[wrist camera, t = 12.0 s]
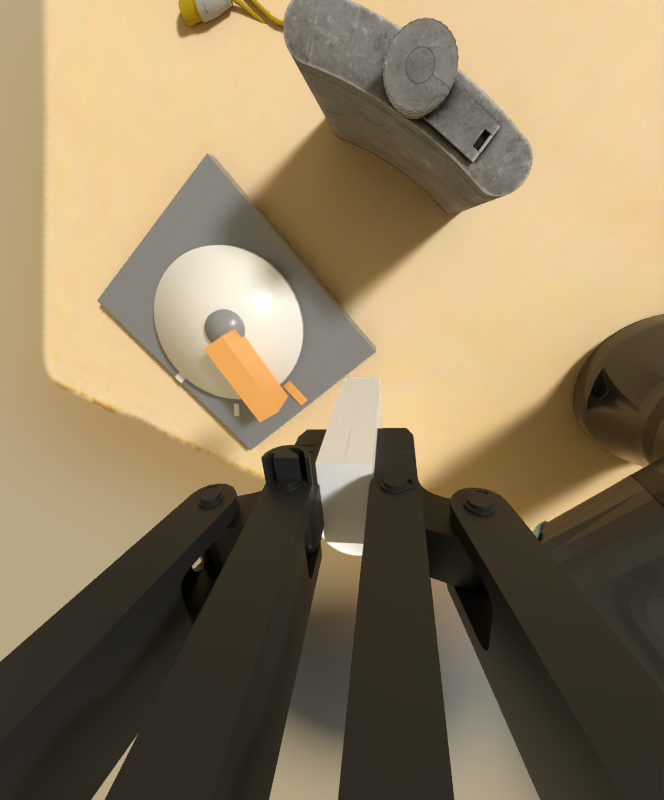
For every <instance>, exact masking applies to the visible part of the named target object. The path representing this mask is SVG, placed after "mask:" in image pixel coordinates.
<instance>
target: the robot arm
mask: <svg viewBox="0 0 664 800" xmlns="http://www.w3.org/2000/svg"><path fill="white" fill-rule="evenodd" d="M573 404H574V411H575V415H576V418H577V420H578V422H579V424H580V426H581V427H582V429H583V430H584V431H585V432H586V433H587V434H588V435H589V436H590V437H591V438H592V439H593V440H594V441H595V442H596V443H597V444H598V445H599V446H600V447H601V448H603V449H604V450H606V451H607V452H609V453H611V454H612V455H614V456H616V457H619V458H621V459H624V460H626V461H629V462H631V463H634V464H637V465H639V466H642V467H644V468H642V469H641V470H639V471H637V472H635V473H634V474H631V475H629V476H628V477H626V478H624V479H623V480H621V481H619V482H618V483H616V484H614V485H613V486H611V487H609V488H607V489H605V490H604V491H602V492H600V493H598V494H597V495H595V496H593V497H591V498H590V499H588V500H586V501H584V502H582V503H581V504H579V505H577V506H575V507H574V508H572V509H570V510H568V511H567V512H565V513H563V514H561V515H560V516H558V517H556V518H554V519H552V520H551V521H549V522H546V521H544V522H541V523H540V524H538V525H537V526H536V529H535V530H534V531H531V530H530V529H529V528H528V526H527V525H526V524H525V523H524V521H523V520H522V519H521V518H520V517H519V515H518V514H517V513H516V512H515V510H514V509H513V508H512V507H511V506H510V504H509V503H508V502H507V501H506V500H505V499H504V498H502V497H501V496H500V495H498V494H496V493H494V492H492V491H490V490H486V489H481V488H466V489H462V490H459V491H457V492H456V493H455V494H453V495H452V498H451V499H449V498H445V497H441V496H438V495H434V494H432V493H430V492H428V491H427V490H426V489H424V488H423V487H422V486H421V484H420V483H419V481H418V477H417V467H416V458H415V448H414V438H413V435H412V434H411V433H410V431H409V430H408V429H407V428H382V420H381V392H380V377H348V378H344V381H343V384H342V387H341V389H340V392H339V395H338V398H337V401H336V404H335V407H334V410H333V413H332V416H331V419H330V422H329V425H328V428H327V430H306V431H305V432H304V433H303V434H301V435H300V436H299V437H298V439H297V441H296V443H295V445H286V446H280V447H277V448H273V449H271V450H270V451H268V452H266V453H265V454H264V455H263V456H262V457H261V458H262V464H263V469H264V474H265V480H266V484H265V486H264V488H263V490H262V491H260V492H256V493H252V494H246V495H241V496H237V494H236V491H235V489H234V488H233V487H232V486H230V485H227V484H214V485H208V486H206V487H203V488H201V489H199V490H197V492H194V493H193V494H192V495H190V496H189V497H188V498H187V499H186V500H185V501H184V502H183V503H181V504H180V505H179V506H178V507H177V508H176V509H174V510H173V511H172V512H171V513H170V514H169V515H168V516H166V517H165V518H164V519H163V520H162V521H161V522H160V523H158V524H157V525H156V526H155V527H154V528H153V529H152V530H150V531H149V532H148V533H147V534H146V535H145V536H144V537H142V538H141V539H140V540H139V541H138V542H137V543H136V544H134V545H133V546H132V547H131V548H130V549H129V550H128V551H126V552H125V553H124V554H123V555H122V556H121V557H120V558H118V559H117V560H116V561H115V562H114V563H113V564H112V565H111V566H109V567H108V568H107V569H106V570H105V571H104V572H102V573H101V574H100V575H99V576H98V577H97V578H96V579H94V580H93V581H92V582H91V583H90V584H89V585H88V586H86V587H85V588H84V589H83V590H82V591H81V592H80V593H78V594H77V595H76V596H75V597H74V598H73V599H72V600H70V601H69V602H68V603H67V604H66V605H65V606H64V607H63V608H61V609H60V610H59V611H58V612H57V613H56V614H54V615H53V616H52V617H51V618H50V619H49V620H48V621H46V622H45V623H44V624H43V625H42V626H41V627H40V628H38V629H37V630H36V631H35V632H34V633H33V634H32V635H30V636H29V637H28V638H27V639H26V640H25V641H24V642H22V643H21V644H20V645H19V646H18V647H17V648H16V649H14V650H13V651H12V652H11V653H10V654H9V655H8V656H6V657H5V658H4V659H3V660H2V661H1V662H0V800H91V799H92V798H93V796H94V795H95V793H96V792H97V791H98V789H99V788H100V786H101V785H102V784H103V782H104V781H105V779H106V778H107V777H108V775H109V774H110V772H111V771H112V770H113V768H114V767H115V765H116V764H117V762H118V761H119V760H120V758H121V757H122V755H123V754H124V753H125V751H126V750H127V748H128V747H129V745H130V744H131V743H132V741H133V740H134V739H135V737H136V736H137V737H136V739H135V741H134V744H133V745H132V747H131V749H130V751H129V753H128V755H127V757H126V759H125V761H124V763H123V765H122V767H121V769H120V771H119V773H118V775H117V777H116V779H115V781H114V782H113V785H112V787H111V788H110V790H109V792H108V795H107V796H106V798H105V800H269V797H270V792H271V788H272V783H273V779H274V774H275V770H276V765H277V760H278V756H279V751H280V746H281V742H282V737H283V733H284V728H285V723H286V718H287V714H288V709H289V705H290V701H291V696H292V691H293V686H294V682H295V678H296V673H297V668H298V664H299V659H300V655H301V650H302V645H303V641H304V636H305V631H306V627H307V622H308V617H309V613H310V609H311V604H312V599H313V595H314V590H315V585H316V581H317V577H318V572H319V567H320V562H321V558H322V549H321V537H322V533H323V531H324V539H325V542H335V543H356V544H363V552H362V562H361V563H362V564H361V572H360V583H359V594H358V603H357V614H356V623H355V634H354V644H353V654H352V664H351V674H350V684H349V694H348V704H347V715H346V725H345V735H344V746H343V756H342V765H341V775H340V785H339V797H338V800H454V794H453V784H452V775H451V765H450V756H449V747H448V738H447V728H446V720H445V710H444V701H443V692H442V682H441V673H440V663H439V654H438V645H437V635H436V626H435V617H434V609H433V598H432V589H431V580H430V577H431V578H434V579H437V580H440V581H442V582H445V583H447V587H448V590H449V593H450V595H451V597H452V600H453V602H454V604H455V607H456V609H457V611H458V613H459V616H460V618H461V620H462V622H463V625H464V627H465V629H466V632H467V634H468V636H469V638H470V641H471V643H472V645H473V647H474V650H475V652H476V654H477V657H478V659H479V661H480V663H481V666H482V668H483V670H484V673H485V675H486V677H487V679H488V682H489V684H490V686H491V688H492V691H493V693H494V695H495V698H496V700H497V702H498V704H499V707H500V709H501V711H502V713H503V716H504V718H505V720H506V723H507V725H508V727H509V729H510V732H511V734H512V736H513V738H514V741H515V743H516V745H517V747H518V750H519V752H520V755H521V757H522V759H523V761H524V764H525V766H526V768H527V770H528V773H529V775H530V777H531V780H532V782H533V784H534V786H535V788H536V791H537V793H538V795H539V798H540V800H664V314H661V315H657V316H653V317H650V318H646V319H644V320H641V321H638V322H636V323H634V324H632V325H630V326H628V327H626V328H624V329H622V330H621V331H619V332H617V333H616V334H614V335H613V336H612V337H610V338H609V339H608V340H606V341H605V342H604V343H603V344H602V345H601V346H600V347H599V348H598V349H597V350H596V351H595V352H594V353H593V354H592V355H591V357H590V358H589V359H588V361H587V362H586V363H585V365H584V367H583V368H582V370H581V372H580V374H579V376H578V379H577V382H576V385H575V389H574V397H573ZM199 557H200V558H201V561H202V562H201V563H200V564H199V565H198V566H197V567H196V568H194V569H193V568H192V565H193V564H194V563H195V562H196V561H197V560H198V559H199ZM137 734H138V735H137Z"/></svg>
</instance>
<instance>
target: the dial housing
mask: <svg viewBox="0 0 664 800" xmlns="http://www.w3.org/2000/svg"><path fill="white" fill-rule="evenodd" d="M210 245H230V246H237V247H240V248H244V249H247V250H250V251H252V252H254V253H256V254H258V255H260V256H261V257H263V258H264V259H266V260H268V261H269V262H270V263H271V264H272V265H274V266H275V267H276V268H277V269H278V270H279V271H280V272H281V273H282V274H283V275H284V277H285V278H286V279H287V281H288V282H289V284H290V285H291V287H292V289H293V290H294V292H295V294H296V296H297V299H298V301H299V303H300V307H301V310H302V314H303V320H304V342H303V347H302V351H301V354H300V357H299V359H298V362H297V363H296V365H295V367H294V369H293V370H292V371H291V373H290V374H289V375H288V377H287V378H286V379H285V380H284V381H283V382H282V383H281V384H280V386H281V387H282V388H283V390H284V391H285V392H286V394H287V395H288V398H287V399H286V401H285V402H284V404H283V405H282V407H281V408H280V410H279V411H278V412H277V413H276V414H274V415H272V416H270V417H269V418H267V419H265V420H263V421H262V422H259V421H258V420H257V418H256V417H255V416H254V414H253V413H252V412H251V410H250V409H249V408H248V406H247V405H246V404H245V403H244V401H243V400H242V399H229V398H224V397H220V396H216V395H213V394H211V393H209V392H206V391H204V390H202V389H201V388H199V387H197V386H195V385H194V384H193V383H191V382H190V381H189V380H187V379H186V378H185V377H184V376H183V375H182V374H181V373H180V372H179V371H178V370H177V369H176V368H175V366H174V365H173V364H172V362H171V361H170V360H169V358H168V357H167V355H166V353H165V351H164V350H163V347H162V345H161V343H160V341H159V337H158V334H157V331H156V326H155V321H154V300H155V295H156V291H157V288H158V285H159V282H160V280H161V278H162V276H163V274H164V273H165V271H166V270H167V269H168V267H169V266H170V265H171V264H172V263H173V262H174V261H175V260H176V259H177V258H179V257H180V256H182V255H183V254H185V253H187V252H189V251H191V250H193V249H196V248H199V247H203V246H210ZM97 301H98V302H99V303H100V304H101V305H102V306H103V307H104V308H105V309H106V310H107V311H108V312H109V313H110V314H111V315H112V316H113V317H114V318H115V319H116V320H117V321H118V322H119V323H120V324H121V325H122V326H123V327H124V328H126V329H127V330H128V331H129V332H130V333H131V334H132V335H133V336H134V337H135V338H136V339H137V340H138V341H139V342H140V343H141V344H142V345H143V346H144V347H145V348H146V349H147V350H148V351H149V352H150V353H151V354H152V355H153V356H154V357H155V358H156V359H157V360H158V361H159V362H160V363H161V364H162V365H163V366H164V367H165V368H166V369H167V370H168V371H170V372H171V373H172V374H173V375H174V376H175V378H176V379H177V380H178V381H179V382H180V383H182V384H183V385H184V386H185V387H186V388H187V389H188V390H189V391H190V392H191V393H192V394H193V395H194V396H195V397H196V398H197V399H198V400H199V401H200V402H201V403H202V404H203V405H204V406H205V407H206V408H207V409H208V410H209V411H210V412H211V413H212V414H214V415H215V416H216V417H217V418H218V419H219V420H220V421H221V422H222V423H223V424H224V425H225V426H226V427H227V428H228V429H229V430H230V431H231V432H232V433H233V434H234V435H235V436H236V437H237V438H238V439H239V440H240V441H241V442H242V443H243V444H244V445H245V446H246V447H247V448H248V449H249V450H252V449H253V448H254V447H256V446H257V445H258V444H259V443H261V442H262V441H263V440H264V439H266V438H267V437H268V436H269V435H271V434H272V433H273V432H275V431H276V430H277V429H278V428H280V427H281V426H282V425H283V424H285V423H286V422H287V421H288V420H290V419H291V418H292V417H294V416H295V415H296V414H297V413H299V412H300V411H301V410H302V409H304V408H305V407H306V406H307V405H309V404H310V403H311V402H313V401H314V400H315V399H316V398H318V397H319V396H320V395H321V394H323V393H324V392H325V391H327V390H328V389H329V388H330V387H332V386H333V385H334V384H335V383H337V382H338V381H339V380H340V379H342V378H343V377H344V376H346V375H347V374H348V373H349V372H351V371H352V370H353V369H354V368H356V367H357V366H358V365H359V364H361V363H362V362H363V361H365V360H366V359H367V358H368V357H370V356H371V355H372V354H373V353H375V352H376V347H375V346H374V345H373V343H372V342H371V341H370V340H369V339H368V338H367V336H366V335H365V334H364V333H363V332H362V331H361V329H360V328H359V327H358V326H357V325H356V323H355V322H354V321H353V320H352V319H351V318H350V316H349V315H348V314H347V313H346V312H345V310H344V309H343V308H342V307H341V306H340V305H339V303H338V302H337V301H336V300H335V299H334V297H333V296H332V295H331V294H330V293H329V292H328V290H327V289H326V288H325V287H324V286H323V284H322V283H321V282H320V281H319V280H318V279H317V277H316V276H315V275H314V274H313V273H312V271H311V270H310V269H309V268H308V267H307V266H306V264H305V263H304V262H303V261H302V260H301V258H300V257H299V256H298V255H297V254H296V253H295V251H294V250H293V249H292V248H291V247H290V245H289V244H288V243H287V242H286V241H285V240H284V238H283V237H282V236H281V235H280V234H279V233H278V231H277V230H276V229H275V228H274V227H273V225H272V224H271V223H270V222H269V221H268V220H267V218H266V217H265V216H264V215H263V214H262V212H261V211H260V210H259V209H258V208H257V207H256V205H255V204H254V203H253V202H252V201H251V199H250V198H249V197H248V196H247V195H246V194H245V192H244V191H243V190H242V189H241V188H240V186H239V185H238V184H237V183H236V182H235V181H234V179H233V178H232V177H231V176H230V175H229V173H228V172H227V171H226V170H225V169H224V168H223V166H222V165H221V164H220V163H219V162H218V160H217V159H216V158H215V157H214V156H211V155H209V154H206V156H205V157H204V158H203V160H202V161H201V162H200V164H199V165H198V166H197V168H196V169H195V170H194V172H193V173H192V174H191V176H190V177H189V178H188V180H187V181H186V182H185V184H184V185H183V187H182V188H181V189H180V191H179V192H178V193H177V195H176V196H175V197H174V199H173V200H172V201H171V203H170V204H169V205H168V207H167V208H166V209H165V211H164V212H163V213H162V215H161V216H160V217H159V219H158V220H157V221H156V223H155V224H154V225H153V227H152V228H151V229H150V231H149V232H148V233H147V235H146V236H145V237H144V239H143V240H142V241H141V243H140V244H139V245H138V247H137V248H136V249H135V251H134V252H133V253H132V255H131V256H130V257H129V259H128V260H127V261H126V263H125V264H124V265H123V267H122V268H121V269H120V271H119V272H118V273H117V275H116V276H115V277H114V279H113V280H112V281H111V283H110V284H109V286H108V287H107V288H106V290H105V291H104V292H103V294H102V295H101V296H100V298H99V299H98V300H97Z"/></svg>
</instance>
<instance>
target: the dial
mask: <svg viewBox="0 0 664 800" xmlns="http://www.w3.org/2000/svg"><path fill="white" fill-rule="evenodd" d="M154 321H155V326H156V331H157V334H158V337H159V341H160V343H161V345H162V347H163V350H164V351H165V353H166V355H167V357H168V358H169V360H170V361H171V362H172V364H173V365H174V366H175V368H176V369H177V370H178V371H179V372H180V373H181V374H182V375H183V376H184V377H185V378H186V379H187V380H189V381H190V382H191V383H193V384H194V385H195V386H197V387H199V388H201V389H202V390H204V391H206V392H209V393H211V394H213V395H216V396H220V397H224V398H229V399H242V400H243V401H244V403H245V404H246V405H247V406H248V408H249V409H250V410H251V412H252V413H253V414H254V416H255V417H256V418H257V420H258V421H259V422H262V421H263V420H265V419H267V418H269V417H270V416H272V415H274V414H276V413H277V412H278V411H279V410H280V408H281V407H282V405H283V404H284V402H285V401H286V399H287V398H288V395H287V394H286V392H285V391H284V390H283V388H282V387H281V386H280V384H281V383H282V382H283V381H284V380H285V379H286V378H287V377H288V375H289V374H290V373H291V371H292V370H293V369H294V367H295V365H296V363H297V362H298V359H299V357H300V354H301V351H302V347H303V342H304V320H303V314H302V310H301V307H300V303H299V301H298V299H297V296H296V294H295V292H294V290H293V289H292V287H291V285H290V284H289V282H288V281H287V279H286V278H285V277H284V275H283V274H282V273H281V272H280V271H279V270H278V269H277V268H276V267H275V266H274V265H272V264H271V263H270V262H269V261H268V260H266V259H264V258H263V257H261V256H260V255H258V254H256V253H254V252H252V251H250V250H247V249H244V248H240V247H237V246H230V245H210V246H203V247H199V248H196V249H193V250H191V251H189V252H187V253H185V254H183V255H182V256H180V257H179V258H177V259H176V260H175V261H174V262H173V263H172V264H171V265H170V266H169V267H168V269H167V270H166V271H165V273H164V274H163V276H162V278H161V280H160V282H159V285H158V288H157V291H156V295H155V300H154Z"/></svg>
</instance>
